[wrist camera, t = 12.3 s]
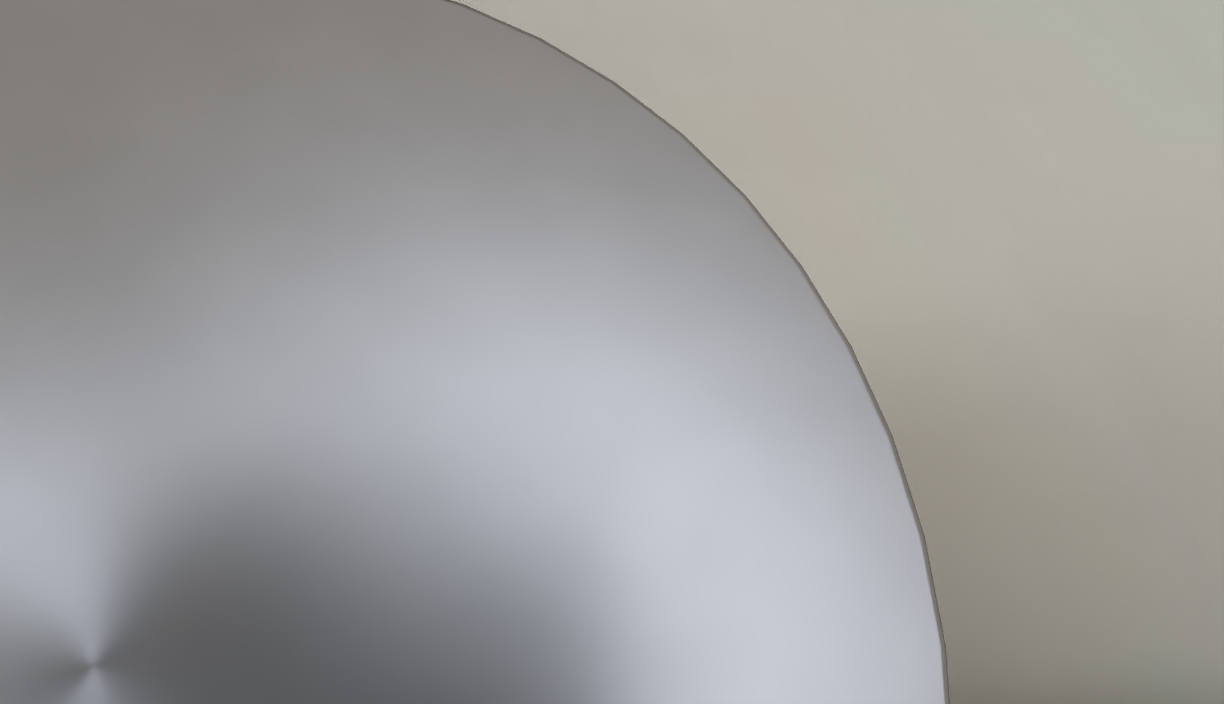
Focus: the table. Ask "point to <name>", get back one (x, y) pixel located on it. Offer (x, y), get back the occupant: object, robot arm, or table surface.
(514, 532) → the can
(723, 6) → the table surface
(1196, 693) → the table surface
